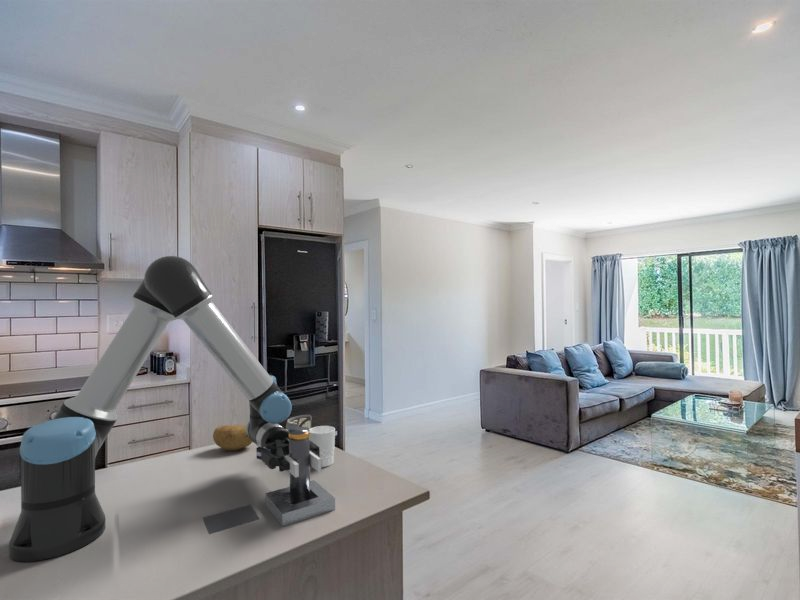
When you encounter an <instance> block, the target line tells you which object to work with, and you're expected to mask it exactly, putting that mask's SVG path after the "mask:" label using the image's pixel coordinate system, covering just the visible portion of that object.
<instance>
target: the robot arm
mask: <svg viewBox="0 0 800 600" xmlns="http://www.w3.org/2000/svg"><path fill="white" fill-rule="evenodd" d="M213 296H214V295H213V293H212V291H210V290H209V287H208V286H207V285H206V284H205V282H204V280H203V279H202V277H201V275H200V274H199V272H198V270H197V269H196V268H195V266H194V265H193V263H191V262H190V261H189V260H187V259H186V258H183V257H180V256H175V255H168V256H163V257H160V258H157V259H155V260H153V261H152V263H150V264H149V266H148V267H147V268H146V270H145V273H144V278H143V280H142V281H141V282H140V285H139V286H138V287H137V289H136V291H135V292H134V293H133V295H132V297H131V299H132V302H133V307H132V309H131V311H130V313H128V315H127V316H126V317H127V318H126V319H125V320H124V322H123V323H122V325H121V326H120V329H118V331H117V333H116V334H115V336H114V337H113V339H112V341H111V342H110V344H109V345H108V346H107V348H106V350H105V352H104V353H103V354H102V356H101V357H100V359H99V361H98V362H97V364H96V365H95V367H94V368H93V370H92V371H91V373H90V375H89V376H88V378H86V379H87V380H86V381H85V383H84V384H83V386H82V387H81V389H80V390H79V392H78V393H77V394H76V395H75V396H73V397H69V398H67V399H65V400H64V401H63V403H62V404H61V406H60V407H59V409H58V410H57V412H56V414H55V415H54V417H53V418H52V419H50V420H47V421H43V422H42V423H39V424H35V425H33V426H31V427H29V428H28V429H27V430H26V431H25V432H24V433H23V434H22V437H21V441H20V446H19V456H20V496H21V497H20V500H21V501H20V503H21V506H20V507H21V508H20V513H19V515H18V518H17V521H16V524H15V527H14V528H13V529H14V530H13V531H12V534H11V536H10V539H9V542H8V556H9V558H10V559H11V560H13V561H16V562H22V563H23V562H29V563H30V562H37V561H38V562H39V561H43V560H48V559H52V558H56V557H60V556H64V555H66V554H68V553H71V552H73V551H76V550H78V549H80V548H83V547H85V546H88V545H89V544H90V543H92V542H93V541H95V540H96V539H97V538H99V537H100V536H101V535H102V534H103V533H104V531H105V530H106V515H105V513H104V510H103V508H102V505H101V503H100V501H99V499H98V496H97V494H96V457H97V455H98V454H99V453H98V452H99V451H100V449H101V447H102V446H103V444H104V443H105V440H106V438H107V437H108V435H109V434H110V432H111V430H112V429H113V427H114V425H115V424H116V422H117V421H118V419H119V416H118V414H117V411H116V409H117V407H118V406H119V404H120V403H121V401H122V400H123V398H124V396H125V395H126V393H127V392H128V390H129V389H130V386H131V385H132V383H133V381H134V380H135V379H136V377H137V375H138V373H139V372H140V370H141V368H142V367H143V365H144V363H145V362H146V360H147V358H148V357H149V355H150V354H151V352H152V350H153V349H154V347H155V346H156V344H157V342H158V341H159V339H160V337H161V336H162V334H163V332H164V331H165V330H166V328H167V326H168V324H169V323H170V322H173V321H176V320H181V321H184V323H185V324H186V325H187V327H188V328H189V329H190V330H191V331H192V333H193V334H194V336H195V337H196V338H197V339H198V340H199V341H200V343H201V344H202V345H203V346H204V347H205V349H206V350H207V351H208V353H209V354H210V355H211V356H212V358H214V360H215V361H216V362H217V363H218V365H219V366H220V367H221V368H222V370H223V371H224V372H225V373H226V374H227V376H228V377H229V378H230V380H231V381H232V382H233V383H234V384H235V386H236V387H238V389H239V391H240V392H241V393H242V394H243V395H244V396H245V398H246V399H247V400H248V402H249V403H248V404H249V405H248V406H249V421H248V422H247V434H248V436H249V437H250V439H251V441H252V443H253V444H255V445H256V446H257V447H256V449H255V450H256V451H255V452H256V453H255V454H256V455H255V456H256V457H255V458H256V459H257V460H260V461H262V462H263V463H264V464H265V465H266V466H267V467H268V468H269V469H270V470H275V469H276V468H277V467H278V471H279V472H284V471H287V472H289V474H290V473H291V474H292V475H293V476H294V477H295V478H296V477H299V464H298V463H297V462H295V461H294V460H293V459H292V458H291V457H289V431H288V429H286V428H284V426H282V425H280V423H282V422H284V421H286V420H288V419H289V416H290V415H291V412H292V410H293V409H292V408H293V406H292V401H291V400H290V398H289V397H288V395H287V394H286V393H284V392H283V391H282V390H281V389H280V387H279V386H278V383H277V378H276V376H274V375H271V374H269V373H268V371H267V370H266V369H265V368H264V367H263V365H262V364H261V363H260V361H259V360H258V358H256V356H255V355H254V354H253V352H252V351H251V350H250V348H249V347H248V346H247V345H246V343H245V342H244V341H243V340H242V338H241V337H240V336H239V334H238V333H237V332H236V329H234V328H233V326H232V325H231V324H230V322H229V321H228V320H227V319H226V317H225V316H224V315H223V314H222V312H221V311H220V310H219V308H218V307H217V306H216V305H215V304H214V303H215V302H213ZM309 446H310V467H311V468H313V469H314V470H315V471H316V472H322V467H321V458H320V449H319V447H318V446H317V445H316V444H314V443H313V442H311V441H310V440H309Z"/></svg>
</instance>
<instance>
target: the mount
mask: <svg viewBox="0 0 800 600" xmlns="http://www.w3.org/2000/svg"><path fill="white" fill-rule="evenodd" d="M202 520H203V523H204V524H205V527H206V529H207V532H208V534H209V535H210V534H214V533H217V532H221V531H224V530H227V529H231V528H234V527H237V526H241V525H244V524H247V523H251V522H254V521H257V520H260V517H259V515H258V514H257V512H256V511H255V510H254V509H253V506H251V504H247V505H243V506H240V507H236V508H233V509H229V510H226V511H222V512H218V513H215V514H214V513H213V514H211V515H207V516H203V517H202Z"/></svg>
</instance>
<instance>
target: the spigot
mask: <svg viewBox="0 0 800 600" xmlns="http://www.w3.org/2000/svg"><path fill="white" fill-rule="evenodd" d="M309 437H310V430H309V428H307V427H296V428H292V429H290V430H289V455H288V456H289V457H291V458H292V459H293V460H294V461H295V462H297V463H298V464H299V477H296V478H295V477H294V476H293V475H292V474H291V473H290V472H289V487H290V503H289V504H290V505H293V504H297V503H300V502H303V501H307V500H310V481H311V466H310V446H309Z"/></svg>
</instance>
